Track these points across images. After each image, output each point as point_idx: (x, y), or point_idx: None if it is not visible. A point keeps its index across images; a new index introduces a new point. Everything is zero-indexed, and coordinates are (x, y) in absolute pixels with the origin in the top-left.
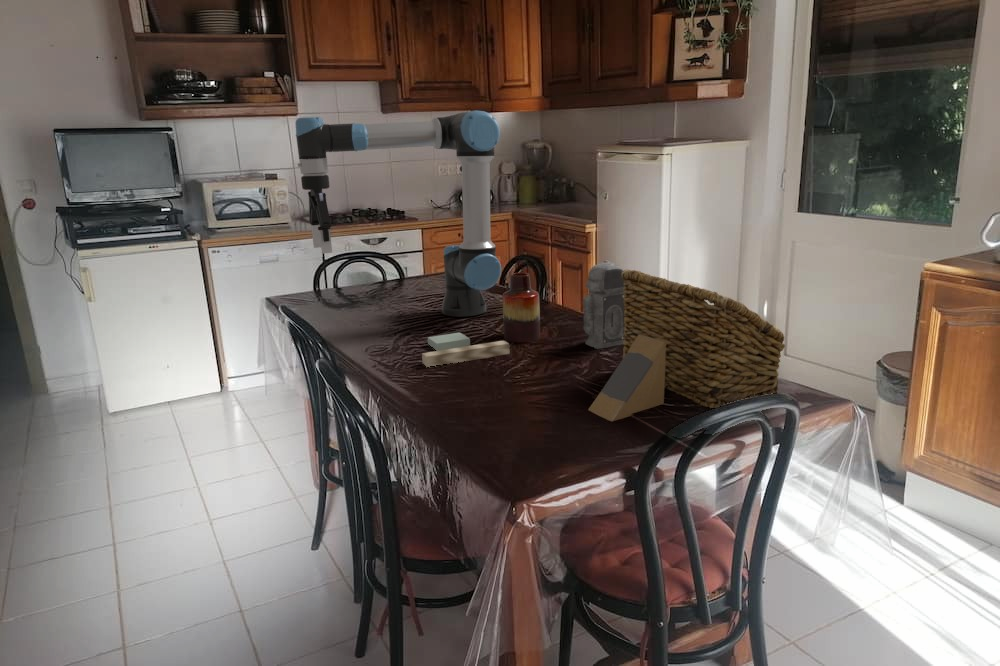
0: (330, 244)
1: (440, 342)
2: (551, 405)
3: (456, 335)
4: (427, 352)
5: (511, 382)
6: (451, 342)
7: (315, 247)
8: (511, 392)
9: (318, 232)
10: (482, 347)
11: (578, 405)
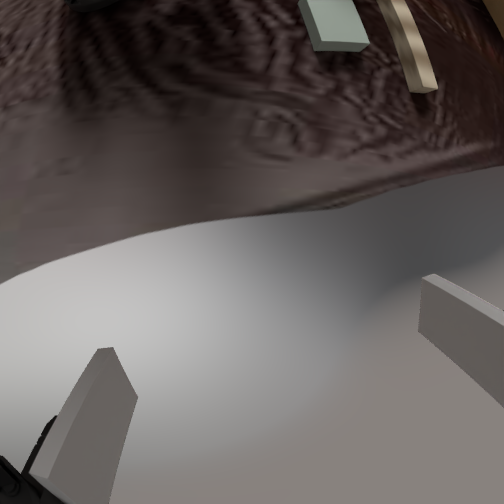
0: (467, 297)
1: (363, 36)
2: (500, 53)
3: (324, 2)
4: (420, 77)
5: (462, 39)
6: (360, 22)
7: (133, 391)
8: (482, 57)
9: (89, 446)
10: (408, 10)
11: (499, 39)
